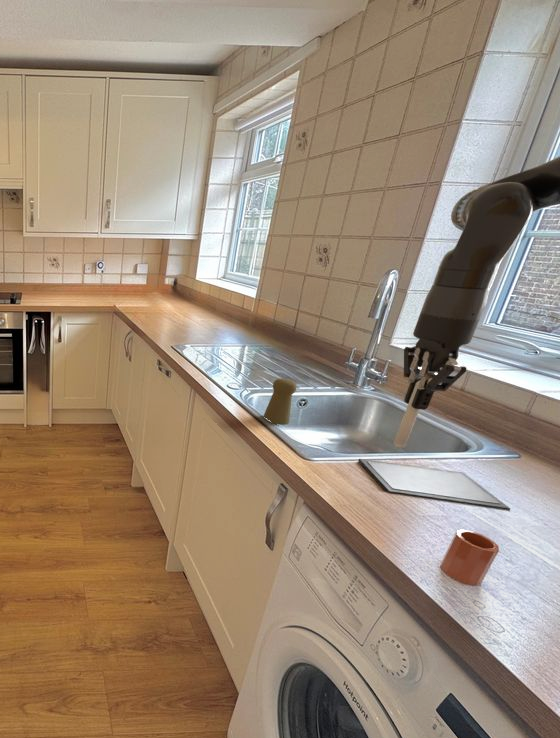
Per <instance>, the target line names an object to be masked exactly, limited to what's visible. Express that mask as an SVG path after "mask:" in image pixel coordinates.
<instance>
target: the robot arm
mask: <svg viewBox="0 0 560 738" xmlns="http://www.w3.org/2000/svg"><path fill="white" fill-rule="evenodd" d="M557 206H560V155H559V156H557V157H555V158H553V159H550V160H548V161H546V162H544V163H542V164H539V165H538V166H535V167H531V168H529V169H526V170H523V171H520V172H517V173H514V174H511V175H509V176H506V177H503V178H500V179H497V180H494V181H492V182H490V183H486V184H484V185H481V186H479V187H476V188H475V189H473V190H471V191H469V192H467V193H465V194H464V195H463V196H462V197H461V198H459V199H458V201H457V202H456V203H455V204H454V206H453V208H452V210H451V213H450V221H451V223H452V224H453V226H454V227H455V229H458V230H460V231H462V232H461V234H460V235H459V238H458V241H457V242H456V245H455V246H454V247H453V249H451V250H449V251H447V252H446V253H445V254H444V256H443V257H442V259H441V261H440V262H439V265H438V269H437V271H436V274H435V276H434V279H433V282H432V285H431V287H430V289H429V291H428V292H427V294H426V296H425V299H424V301H423V304H422V308H421V310H420V313H419V315H418V319H417V322H416V324H415V326H414V330H413V332H412V335H413V337H414V338H417V339H418V341H417V342H416V343H415V345H414V346H405V347H404V349H403V377H404V378H407V382H408V384H409V385H408V387H407V391H406V393H405V396H404V399H403V402H404V403H405V404H407V405H408V403H409V401H410V398H411V395H412V393H413V390H414V387H415V385H416V383H417V382H418V381H420V383H419V389H417V391H416V394H415V396H414V399H413V402H412V404H411V406H412V407H413V408H415V409H420V410H422V411H425V410H427V409H428V408H429V406H430V403H431V401H432V398H433V396H434V393H436V392H446V391H447V390H448V389H449V388H450V387H452V386H453V385H454V384H455V383H456V382H457V381H458V380H459V379H460V378H461V377H462V376H463V375H464V374H465V373H466V372H467V366H465V365H459V363H458V361H457V360H458V358H459V352H460V348H461V347H462V346H466V345H469V344H470V343H471V342H472V340H473V337H474V334H475V332H476V329H477V327H478V324H479V322H480V320H481V317H482V315H483V312H484V310H485V308H486V305H487V302H488V298H489V293H490V290H491V287H492V286H493V283H494V280H495V278H496V276H497V273H498V270H499V267H500V264H501V262H502V261H503V259H504V258H505V256H506V255H507V253H508V252H509V251H510V249H511V248H512V247H513V245H514V244H515V242H516V241H517V239H518V238H519V236H520V235H521V233H522V232H523V230H524V229H525V227H526V225H527V224H528V222H529V220H530V218H531V215H532V213H534V212H537V211H540V210H543V209H547V208H551V207H557Z"/></svg>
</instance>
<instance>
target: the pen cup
mask: <svg viewBox="0 0 560 738" xmlns="http://www.w3.org/2000/svg"><path fill="white" fill-rule="evenodd" d="M499 552H500V547H499V545H498V544H497V543H496V542H494V540H492V539H491V538H489V537H487V536H485V535H483V534H481V533H479V532H476V531H473V530H467V529H458V530H456V531H455V533H454V535H453V538H452V539H451V541H450V543H449V545H448V547H447V550H446V551H445V554H444V555H443V558H442V560H441V562H440V569H441V571H443V573H444V574H445V575H447V576H448V577H450V578H451V579H453V580H455V581H457V582H458V583H460V584H461V583H462V584H464V585H466V586H467V585H468V586H472V587H473V586H474V587H477V586H479V585H481V584H482V583H483V581H484V579H485V577H486V575H487V574H488V572H489V570H490V568H491V566H492V564H493V563H494V561H495V559H496V557H497V555H498V553H499Z"/></svg>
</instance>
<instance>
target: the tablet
mask: <svg viewBox="0 0 560 738" xmlns="http://www.w3.org/2000/svg"><path fill="white" fill-rule="evenodd" d="M357 462H358V464H359V465H360V466H361V467H362V468H363V469H364V470H365V471H366V473H368V474H369V476H370V477H371V478H372V479H374V481H375V483H376V484H378V485H379V487H380V488H381V489H382V490H383V491H384V492H385V493H386V494H387V493H388V494H395V495H402V496H410V497H414V498H415V497H416V498H423V499H428V500H429V499H430V500H436V501H444V502H449V503H450V502H451V503H458V504H463V505H471V506H479V507H483V508H484V507H485V508H492V509H500V510H505V511H506V510H507V511H510V510H511V508H510V507H509V506H508V505H507V504H505V503H504V502H502V501H501V500H500V499H499V498H497V496H495V495H493V494H492V493H491V492H490V491H488V490H487V489H485V488H484V487H483V486H482V485H480V484H479V483H478V482H477V481H475V480H474V479H473V478H471V477H470V476H468V475H467V474H466V472H463V471H456V470H448V469H440V468H434V467H433V468H432V467H426V466H425V467H424V466H417V465H412V464H411V465H409V464H402V463H395V462H387V461H379V460H373V459H365V458H359V459H358V461H357Z"/></svg>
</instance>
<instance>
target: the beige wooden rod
mask: <svg viewBox="0 0 560 738" xmlns="http://www.w3.org/2000/svg"><path fill="white" fill-rule="evenodd" d="M419 383H420V381H418V382H417V383H416V385H415V387H414V390H413V393H412V395H411V398H410V401H409V403H408V404H407V406H406V409H405V411H404V414H403V417H402V420H401V423H400V425H399V428H398V430H397V433H396V435H395V438H394V441H393V444H394V446H395V447H396V448H398V449H402V448H403V449H404V448H405V447H406V446H407V444H408V440H409V439H410V437H411V433H412V431H413V428H414V426H415V423H416V420H417V417H418V416H419V413H420V410H421V409H415V408H413V407H412V406H411V404H412V402H413V399H414V396H415V394H416V391H417V389H419Z"/></svg>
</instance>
